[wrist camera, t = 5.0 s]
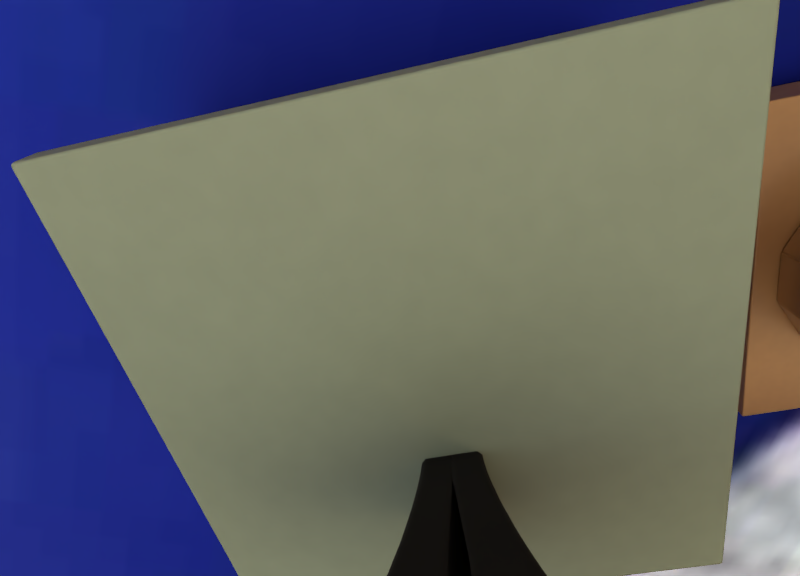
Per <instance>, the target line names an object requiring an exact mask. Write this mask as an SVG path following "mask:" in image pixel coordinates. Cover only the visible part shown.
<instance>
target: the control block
mask: <svg viewBox="0 0 800 576" xmlns="http://www.w3.org/2000/svg"><path fill="white" fill-rule="evenodd" d="M795 408H800V81H798V82H793V83H788V84H784V85H779V86H774V87H771V91H770V101H769V111H768V120H767V130H766V140H765V150H764V159H763V169H762V179H761V189H760V199H759V208H758V218H757V228H756V238H755V247H754V257H753V267H752V277H751V286H750V296H749V306H748V316H747V326H746V335H745V345H744V355H743V365H742V374H741V384H740V394H739V404H738V411H739V413H740V414H741V415H742V416H748V415H754V414H761V413H768V412H775V411H781V410H788V409H795Z"/></svg>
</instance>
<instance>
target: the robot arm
mask: <svg viewBox="0 0 800 576" xmlns="http://www.w3.org/2000/svg"><path fill="white" fill-rule="evenodd" d="M387 576H547V575H546V573H545V572H544V571H543V569H542V568H541V566H540V565H539V563H538V562H537V560H536V559H535V558H534V556H533V554H532V553H531V551H530V550H529V548H528V547H527V545H526V544H525V542H524V541H523V539H522V537H521V536H520V534H519V533H518V531H517V529H516V528H515V526H514V524H513V522H512V520H511V519H510V517H509V515H508V513H507V512H506V510H505V508H504V506H503V504H502V502H501V501H500V499H499V497H498V495H497V492H496V490H495V488H494V486H493V484H492V482H491V479H490V477H489V474H488V472H487V469H486V466H485V463H484V459H483V454H481V453H479V452H478V451H475V452H468V453H461V454H455V455H448V456H441V457H435V458H428V459H425V460H424V461H423V463H422V467H421V473H420V478H419V483H418V487H417V491H416V495H415V498H414V502H413V505H412V509H411V512H410V515H409V518H408V521H407V524H406V527H405V530H404V533H403V536H402V539H401V542H400V544H399V547H398V549H397V552H396V554H395V557H394V559H393V562H392V564H391V567H390V569H389V572H388V574H387Z"/></svg>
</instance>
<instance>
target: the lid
mask: <svg viewBox="0 0 800 576" xmlns="http://www.w3.org/2000/svg"><path fill="white" fill-rule="evenodd" d="M779 3H780V0H705V1H700V2H696V3H692V4H687V5H683V6H678V7H674V8H670V9H665V10H661V11H657V12H652V13H648V14H643V15H639V16H635V17H630V18H626V19H621V20H617V21H613V22H608V23H604V24H600V25H595V26H591V27H586V28H582V29H578V30H573V31H569V32H564V33H560V34H556V35H551V36H547V37H542V38H538V39H534V40H529V41H525V42H521V43H516V44H512V45H507V46H503V47H499V48H494V49H490V50H485V51H481V52H477V53H472V54H468V55H463V56H459V57H455V58H450V59H446V60H442V61H437V62H433V63H428V64H424V65H420V66H415V67H411V68H406V69H402V70H398V71H393V72H389V73H385V74H380V75H376V76H371V77H367V78H363V79H358V80H354V81H349V82H345V83H341V84H336V85H332V86H327V87H323V88H319V89H314V90H310V91H306V92H301V93H297V94H292V95H288V96H284V97H279V98H275V99H270V100H266V101H262V102H257V103H253V104H248V105H244V106H240V107H235V108H231V109H227V110H222V111H218V112H213V113H209V114H205V115H200V116H196V117H191V118H187V119H183V120H178V121H174V122H170V123H165V124H161V125H156V126H152V127H148V128H143V129H139V130H134V131H130V132H126V133H121V134H117V135H112V136H108V137H104V138H99V139H95V140H91V141H86V142H82V143H77V144H73V145H69V146H64V147H60V148H55V149H51V150H47V151H42V152H38V153H35V154H33V155H30V156H28V157H25V158H23V159H20V160H18V161H16V162H14V163H12V165H11V166H12V169H13V170H14V172H15V174H16V176H17V178H18V179H19V181H20V183H21V185H22V187H23V188H24V190H25V192H26V194H27V196H28V197H29V199H30V201H31V203H32V205H33V206H34V208H35V210H36V212H37V214H38V215H39V217H40V219H41V221H42V223H43V224H44V226H45V228H46V230H47V232H48V233H49V235H50V237H51V239H52V241H53V242H54V244H55V246H56V248H57V250H58V251H59V253H60V255H61V257H62V259H63V260H64V262H65V264H66V266H67V268H68V269H69V271H70V273H71V275H72V277H73V278H74V280H75V282H76V284H77V286H78V287H79V289H80V291H81V293H82V295H83V296H84V298H85V300H86V302H87V304H88V305H89V307H90V309H91V311H92V313H93V314H94V316H95V318H96V320H97V322H98V323H99V325H100V327H101V329H102V331H103V332H104V334H105V336H106V338H107V340H108V341H109V343H110V345H111V347H112V349H113V350H114V352H115V354H116V356H117V358H118V359H119V361H120V363H121V365H122V367H123V368H124V370H125V372H126V374H127V376H128V377H129V379H130V381H131V383H132V385H133V386H134V388H135V390H136V392H137V394H138V395H139V397H140V399H141V401H142V403H143V404H144V406H145V408H146V410H147V412H148V413H149V415H150V417H151V419H152V421H153V422H154V424H155V426H156V428H157V430H158V431H159V433H160V435H161V437H162V439H163V440H164V442H165V444H166V446H167V448H168V449H169V451H170V453H171V455H172V457H173V458H174V460H175V462H176V464H177V466H178V467H179V469H180V471H181V473H182V475H183V476H184V478H185V480H186V482H187V484H188V485H189V487H190V489H191V491H192V493H193V494H194V496H195V498H196V500H197V502H198V503H199V505H200V507H201V509H202V511H203V512H204V514H205V516H206V518H207V520H208V521H209V523H210V525H211V527H212V529H213V530H214V532H215V534H216V536H217V538H218V539H219V541H220V543H221V545H222V547H223V548H224V550H225V552H226V554H227V556H228V557H229V559H230V561H231V563H232V565H233V566H234V568H235V570H236V572H237V574H238V575H239V576H387V574H388V572H389V569H390V567H391V564H392V562H393V559H394V557H395V554H396V552H397V549H398V547H399V544H400V542H401V539H402V536H403V533H404V530H405V527H406V524H407V521H408V518H409V515H410V512H411V509H412V505H413V502H414V498H415V495H416V491H417V487H418V483H419V478H420V473H421V467H422V463H423V461H424V460H425V459H428V458H435V457H441V456H448V455H455V454H461V453H468V452H475V451H478V452H479V453H481V454H483V459H484V463H485V466H486V469H487V472H488V474H489V477H490V479H491V482H492V484H493V486H494V488H495V490H496V492H497V495H498V497H499V499H500V501H501V502H502V504H503V506H504V508H505V510H506V512H507V513H508V515H509V517H510V519H511V520H512V522H513V524H514V526H515V528H516V529H517V531H518V533H519V534H520V536H521V537H522V539H523V541H524V542H525V544H526V545H527V547H528V548H529V550H530V551H531V553H532V554H533V556H534V558H535V559H536V560H537V562H538V563H539V565H540V566H541V568H542V569H543V571H544V572H545V573H546V575H547V576H623V575H631V574H639V573H648V572H656V571H664V570H672V569H680V568H688V567H697V566H705V565H713V564H720V563H722V560H723V550H724V540H725V531H726V521H727V511H728V501H729V492H730V482H731V472H732V462H733V453H734V443H735V433H736V423H737V413H738V404H739V394H740V384H741V374H742V365H743V355H744V345H745V335H746V326H747V316H748V306H749V296H750V286H751V277H752V267H753V257H754V247H755V238H756V228H757V218H758V208H759V199H760V189H761V179H762V169H763V159H764V150H765V140H766V130H767V120H768V111H769V101H770V91H771V81H772V72H773V62H774V52H775V42H776V32H777V23H778V13H779Z"/></svg>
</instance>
